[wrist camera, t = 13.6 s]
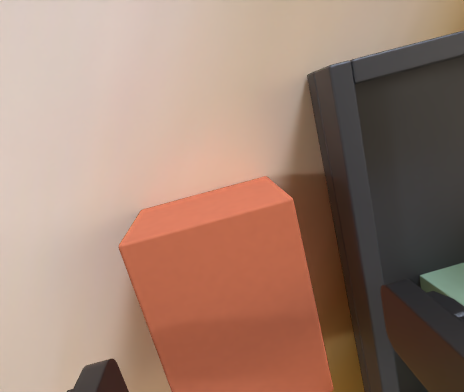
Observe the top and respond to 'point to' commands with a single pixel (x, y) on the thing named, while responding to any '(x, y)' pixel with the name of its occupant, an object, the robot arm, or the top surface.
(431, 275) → the sage pad
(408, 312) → the robot arm
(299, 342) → the terracotta pad
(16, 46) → the top surface
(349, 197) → the frame
